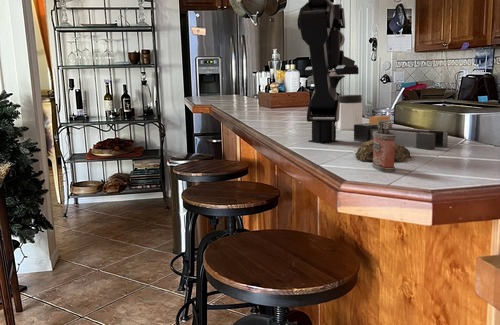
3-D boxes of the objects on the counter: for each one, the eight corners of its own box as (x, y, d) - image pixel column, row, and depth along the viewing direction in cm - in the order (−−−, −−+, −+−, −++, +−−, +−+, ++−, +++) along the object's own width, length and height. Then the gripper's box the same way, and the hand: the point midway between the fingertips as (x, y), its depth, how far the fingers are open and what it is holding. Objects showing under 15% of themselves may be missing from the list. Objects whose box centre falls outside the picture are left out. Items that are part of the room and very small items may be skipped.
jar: (348, 130, 168) (349, 96, 166) (332, 129, 174) (332, 95, 172) (367, 128, 172) (367, 94, 170) (350, 127, 179) (350, 94, 177)
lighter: (369, 165, 104) (369, 119, 102) (384, 164, 105) (385, 118, 103) (382, 172, 96) (383, 122, 95) (398, 172, 97) (400, 122, 95)
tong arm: (442, 147, 123) (443, 131, 122) (381, 141, 138) (381, 126, 137) (447, 146, 125) (447, 130, 124) (385, 140, 139) (386, 125, 139)
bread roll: (362, 154, 121) (362, 134, 120) (413, 156, 116) (414, 135, 115) (347, 162, 110) (347, 141, 109) (403, 166, 104) (403, 143, 104)
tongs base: (426, 151, 120) (427, 131, 119) (353, 141, 141) (354, 124, 140) (449, 147, 125) (450, 128, 124) (375, 138, 146) (375, 122, 145)
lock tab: (377, 124, 135) (377, 117, 135) (369, 123, 138) (369, 116, 137) (389, 123, 138) (389, 116, 138) (381, 122, 140) (381, 115, 140)
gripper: (372, 45, 144) (371, 98, 147) (329, 49, 160) (329, 97, 163) (344, 45, 139) (344, 100, 141) (303, 49, 154) (304, 98, 157)
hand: (330, 98), depth 151 cm, fingers closed
